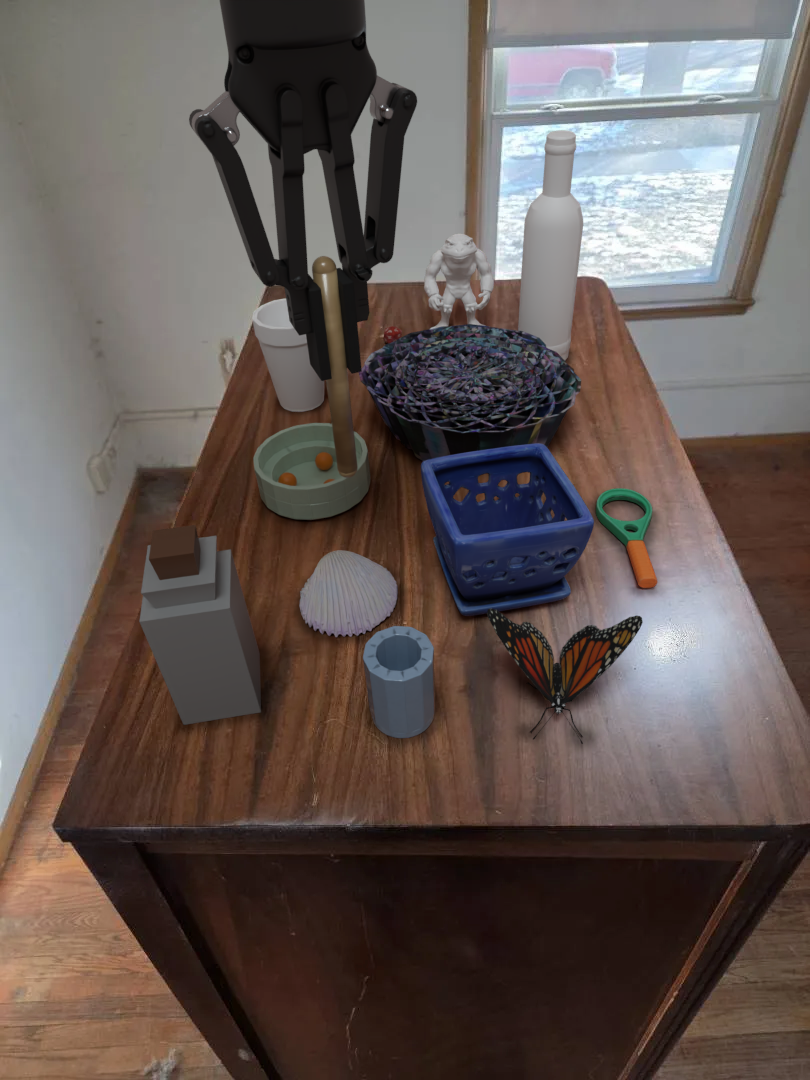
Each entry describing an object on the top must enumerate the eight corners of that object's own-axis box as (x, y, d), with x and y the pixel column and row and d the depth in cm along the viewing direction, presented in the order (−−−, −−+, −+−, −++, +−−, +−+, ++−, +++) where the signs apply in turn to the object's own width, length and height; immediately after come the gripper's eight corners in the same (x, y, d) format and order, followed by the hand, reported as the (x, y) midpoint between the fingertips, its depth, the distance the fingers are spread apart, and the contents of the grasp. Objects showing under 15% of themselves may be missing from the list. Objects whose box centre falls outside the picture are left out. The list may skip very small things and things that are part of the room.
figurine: (490, 319, 120) (494, 225, 110) (494, 338, 115) (497, 241, 105) (424, 322, 121) (422, 228, 111) (425, 340, 116) (422, 244, 106)
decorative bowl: (485, 370, 111) (484, 306, 105) (620, 441, 92) (628, 367, 86) (338, 426, 102) (327, 359, 95) (456, 518, 83) (452, 442, 76)
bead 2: (314, 473, 90) (312, 458, 88) (318, 462, 91) (315, 448, 90) (332, 474, 90) (330, 459, 88) (335, 463, 91) (333, 448, 90)
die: (384, 340, 117) (383, 322, 115) (403, 339, 116) (402, 321, 114) (382, 348, 114) (381, 330, 112) (402, 348, 114) (401, 330, 112)
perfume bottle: (261, 712, 65) (217, 565, 53) (183, 725, 64) (121, 579, 52) (259, 653, 70) (219, 507, 58) (187, 664, 69) (131, 519, 57)
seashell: (372, 528, 78) (409, 571, 70) (379, 571, 81) (415, 617, 72) (279, 556, 75) (307, 604, 67) (289, 600, 78) (317, 651, 69)
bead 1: (277, 494, 87) (274, 479, 86) (282, 483, 89) (279, 468, 87) (295, 495, 87) (293, 480, 85) (299, 483, 88) (297, 468, 87)
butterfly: (480, 743, 62) (483, 668, 55) (486, 652, 69) (489, 576, 62) (629, 756, 60) (651, 681, 53) (619, 662, 67) (637, 586, 60)
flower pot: (536, 526, 82) (545, 436, 74) (583, 612, 72) (599, 519, 64) (420, 547, 80) (417, 457, 72) (452, 637, 70) (452, 545, 62)
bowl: (248, 521, 84) (240, 487, 81) (275, 454, 94) (269, 421, 91) (361, 525, 83) (357, 491, 80) (377, 457, 93) (374, 424, 89)
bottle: (527, 338, 115) (542, 123, 95) (576, 348, 112) (602, 127, 92) (507, 361, 110) (519, 139, 90) (557, 372, 107) (581, 144, 86)
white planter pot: (270, 386, 107) (254, 300, 99) (333, 380, 108) (323, 294, 99) (268, 421, 100) (250, 332, 92) (336, 414, 101) (325, 325, 92)
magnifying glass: (590, 496, 85) (592, 485, 84) (643, 495, 85) (646, 483, 84) (615, 590, 74) (618, 578, 73) (676, 589, 74) (680, 578, 72)
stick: (336, 481, 59) (307, 261, 47) (340, 469, 60) (313, 252, 48) (356, 482, 58) (332, 261, 47) (359, 470, 60) (337, 252, 48)
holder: (366, 736, 62) (358, 678, 57) (375, 683, 67) (368, 624, 61) (432, 740, 62) (430, 682, 57) (437, 686, 66) (435, 627, 61)
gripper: (150, -38, 32) (248, 418, 48) (449, -62, 36) (450, 367, 52) (129, -46, 38) (224, 367, 53) (392, -66, 41) (408, 325, 57)
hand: (335, 367), depth 53 cm, fingers closed on stick, 1 cm apart
